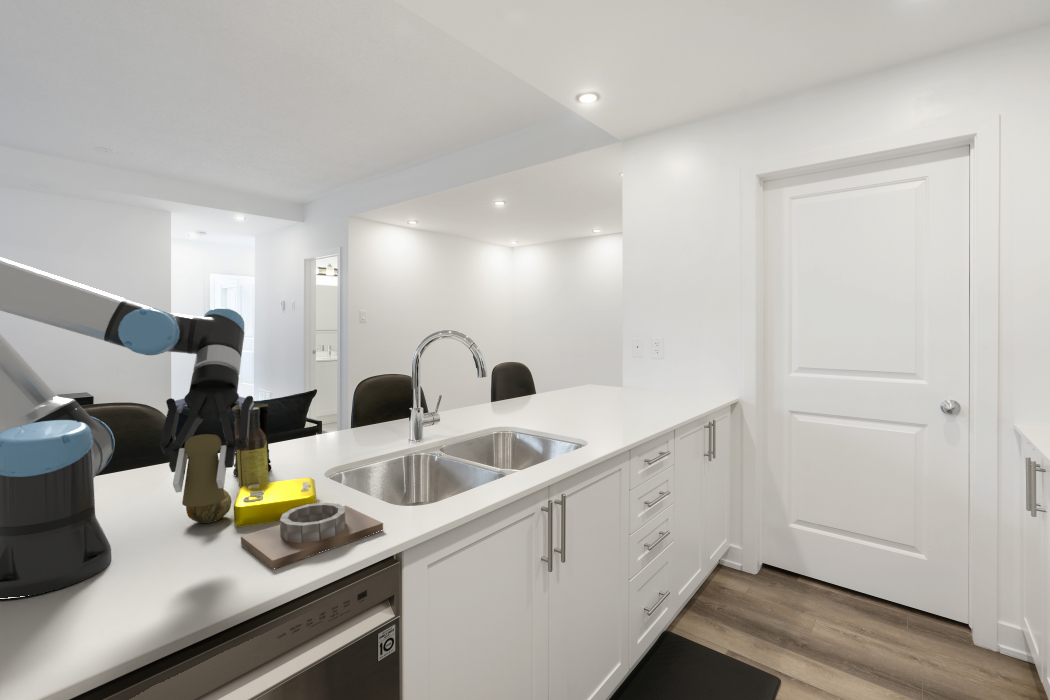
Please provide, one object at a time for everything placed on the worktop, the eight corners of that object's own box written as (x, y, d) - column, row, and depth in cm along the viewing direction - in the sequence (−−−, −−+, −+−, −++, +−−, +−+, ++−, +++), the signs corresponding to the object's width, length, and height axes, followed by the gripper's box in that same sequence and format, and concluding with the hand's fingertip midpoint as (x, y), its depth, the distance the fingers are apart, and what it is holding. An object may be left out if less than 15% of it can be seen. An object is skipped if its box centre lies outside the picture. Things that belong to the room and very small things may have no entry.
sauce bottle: (275, 490, 118) (272, 407, 117) (251, 498, 112) (248, 411, 111) (256, 487, 120) (253, 405, 119) (232, 495, 114) (229, 409, 114)
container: (238, 469, 135) (235, 403, 135) (274, 466, 138) (272, 402, 137) (229, 478, 127) (226, 409, 126) (268, 475, 130) (265, 407, 129)
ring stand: (272, 569, 79) (271, 542, 79) (241, 544, 88) (240, 519, 88) (383, 530, 94) (382, 507, 94) (346, 512, 103) (345, 491, 103)
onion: (242, 514, 103) (240, 476, 102) (208, 530, 95) (206, 488, 95) (213, 511, 105) (211, 473, 104) (177, 525, 97) (175, 485, 97)
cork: (233, 495, 86) (232, 432, 85) (207, 507, 80) (206, 439, 79) (200, 493, 86) (199, 430, 86) (172, 505, 80) (171, 438, 80)
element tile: (317, 516, 102) (316, 494, 102) (233, 530, 96) (232, 505, 96) (314, 494, 116) (314, 474, 115) (240, 504, 109) (240, 483, 109)
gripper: (271, 385, 100) (264, 490, 86) (162, 389, 93) (135, 504, 78) (268, 361, 95) (261, 468, 80) (153, 362, 88) (122, 480, 73)
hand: (199, 485), depth 79 cm, fingers closed on cork, 5 cm apart
